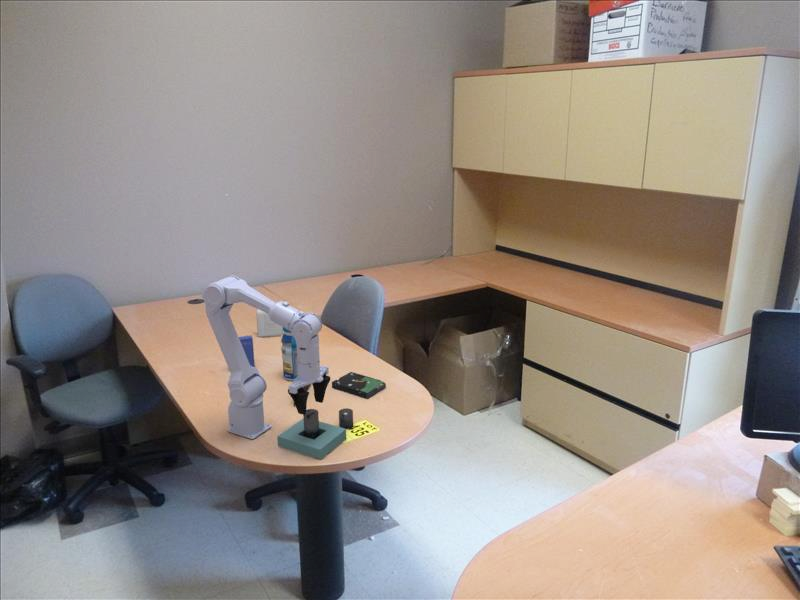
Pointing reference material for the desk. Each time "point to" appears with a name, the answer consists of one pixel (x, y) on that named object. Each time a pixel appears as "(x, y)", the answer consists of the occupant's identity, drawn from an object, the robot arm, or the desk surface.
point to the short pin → (346, 418)
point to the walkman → (248, 348)
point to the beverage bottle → (289, 355)
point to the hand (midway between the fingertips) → (310, 407)
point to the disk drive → (359, 385)
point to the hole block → (313, 448)
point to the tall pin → (311, 424)
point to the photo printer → (267, 325)
